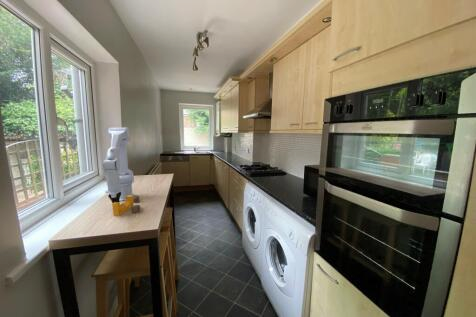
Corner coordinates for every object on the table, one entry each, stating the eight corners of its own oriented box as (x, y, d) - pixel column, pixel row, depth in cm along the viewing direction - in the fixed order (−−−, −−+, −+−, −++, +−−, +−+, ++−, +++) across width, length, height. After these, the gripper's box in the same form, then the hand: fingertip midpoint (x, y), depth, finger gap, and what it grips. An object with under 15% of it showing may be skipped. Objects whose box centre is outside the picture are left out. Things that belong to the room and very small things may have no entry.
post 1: (131, 201, 113) (131, 196, 113) (139, 200, 115) (138, 195, 115) (131, 203, 110) (131, 198, 110) (139, 202, 112) (139, 197, 111)
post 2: (131, 211, 100) (131, 205, 99) (140, 209, 101) (139, 204, 101) (131, 213, 96) (131, 208, 96) (140, 212, 98) (140, 206, 98)
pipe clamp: (126, 206, 107) (125, 195, 106) (133, 206, 106) (132, 195, 105) (110, 215, 95) (108, 203, 94) (118, 216, 94) (116, 203, 93)
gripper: (105, 180, 104) (109, 203, 106) (102, 186, 91) (105, 213, 93) (121, 178, 107) (123, 201, 109) (119, 184, 94) (122, 210, 96)
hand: (116, 206), depth 101 cm, fingers closed
